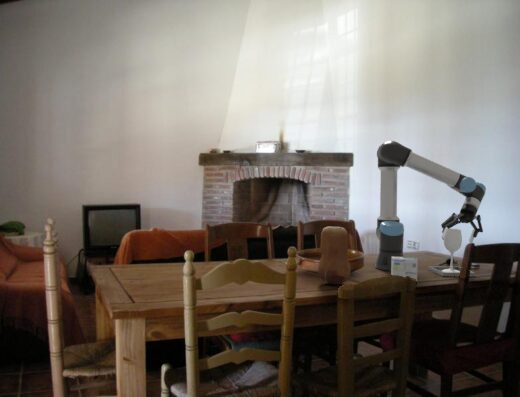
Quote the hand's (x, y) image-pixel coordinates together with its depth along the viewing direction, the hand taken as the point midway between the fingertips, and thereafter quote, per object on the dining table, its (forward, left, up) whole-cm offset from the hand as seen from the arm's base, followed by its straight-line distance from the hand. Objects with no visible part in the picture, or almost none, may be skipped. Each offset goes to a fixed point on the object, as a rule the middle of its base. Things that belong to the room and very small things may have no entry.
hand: (456, 240), depth 239 cm
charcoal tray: (-3, -1, -16) cm, 16 cm away
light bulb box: (-34, -19, -16) cm, 42 cm away
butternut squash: (-67, -24, -16) cm, 73 cm away
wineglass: (-3, -1, -16) cm, 16 cm away
